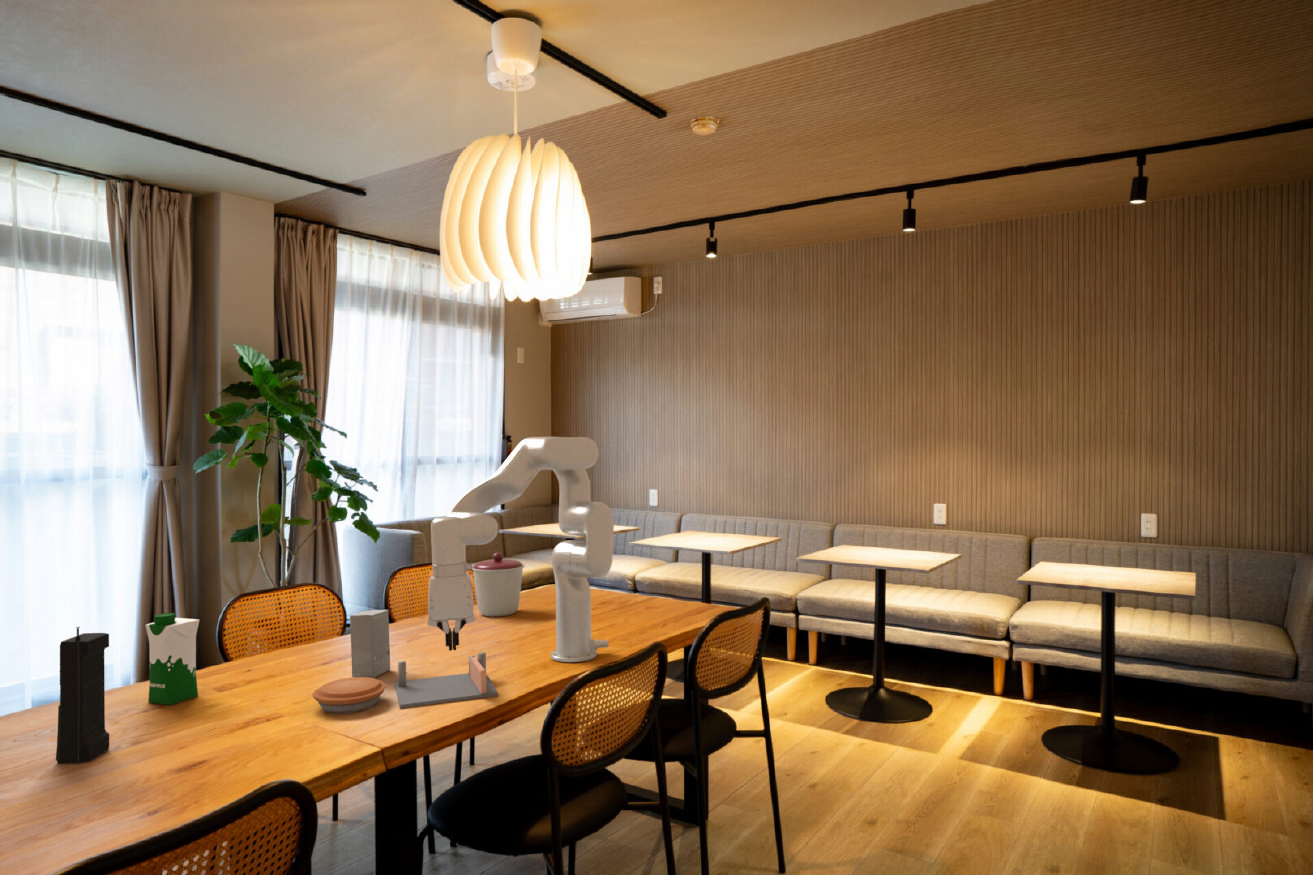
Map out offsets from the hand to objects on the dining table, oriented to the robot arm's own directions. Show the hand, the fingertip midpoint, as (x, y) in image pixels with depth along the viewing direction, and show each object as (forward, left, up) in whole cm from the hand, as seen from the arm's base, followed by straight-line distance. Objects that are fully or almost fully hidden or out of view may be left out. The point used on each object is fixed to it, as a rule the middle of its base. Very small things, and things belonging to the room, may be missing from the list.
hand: (452, 648), depth 181 cm
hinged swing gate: (+1, -5, -11) cm, 12 cm away
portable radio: (+69, +8, -11) cm, 71 cm away
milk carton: (+60, -24, -11) cm, 66 cm away
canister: (-26, -85, -11) cm, 89 cm away
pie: (+22, -3, -11) cm, 25 cm away
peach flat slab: (-6, -3, -10) cm, 12 cm away
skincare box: (+17, -27, -11) cm, 34 cm away
